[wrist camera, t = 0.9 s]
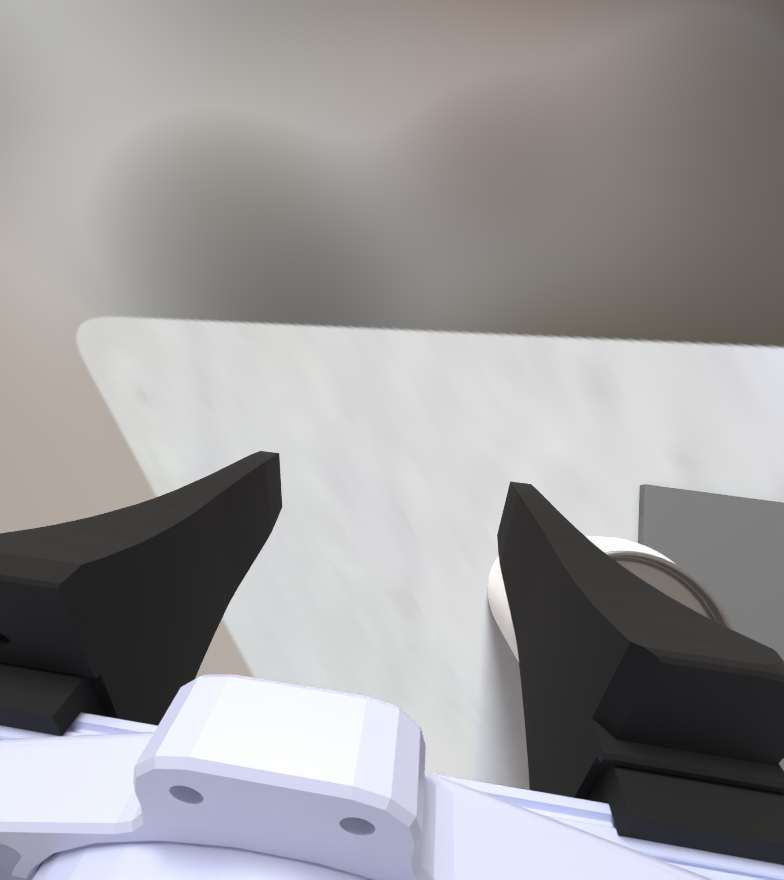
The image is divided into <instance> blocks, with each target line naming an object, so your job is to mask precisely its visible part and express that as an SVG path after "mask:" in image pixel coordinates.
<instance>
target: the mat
mask: <svg viewBox="0 0 784 880" xmlns="http://www.w3.org/2000/svg"><path fill="white" fill-rule="evenodd" d="M638 543H639V544H641V545H644V546H647V547H649V548H651V549H653V550H655V551H657V552H659V553H661V554H662V555H664V556H665V557H667V558H668V559H670V560H671V561H673V562H674V563H675V564H676V565H678V566H680V567H682V568H683V569H685V570H686V571H688V572H689V573H691V574H692V575H693V576H695V577H696V578H697V579H698V580H699V581H700V582H702V583H703V584H704V585H705V586H706V587H707V588H708V589H709V590H710V591H711V593H712V594H713V595H714V596H715V597H716V599H717V600H718V601H719V603H720V604H721V605H722V607H723V608H724V610H725V612H726V613H727V615H728V617H729V619H730V621H731V623H732V625H733V627H734V630H735V631H736V632H738V633H740V634H742V635H744V636H746V637H748V638H751V639H753V640H755V641H757V642H759V643H761V644H763V645H765V646H768V647H770V648H772V649H774V650H775V651H776V652H777V653H778V654H779V656H780V657H781V658H782V659H783V661H784V503H781V502H774V501H766V500H758V499H751V498H743V497H736V496H728V495H721V494H713V493H706V492H698V491H690V490H683V489H675V488H668V487H660V486H653V485H641V486H640V503H639V534H638ZM779 765H780V766H781V768H782V769H783V771H784V758H783V759H782V760H781V761H780V762H779Z"/></svg>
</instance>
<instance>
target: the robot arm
mask: <svg viewBox="0 0 784 880" xmlns="http://www.w3.org/2000/svg"><path fill="white" fill-rule="evenodd" d="M281 508H282V496H281V479H280V461H279V453H272V452H264V451H259V452H257V453H254V454H252V455H250V456H247V457H245V458H243V459H241V460H239V461H237V462H235V463H233V464H231V465H229V466H227V467H225V468H223V469H221V470H219V471H217V472H215V473H213V474H211V475H209V476H207V477H204V478H202V479H200V480H198V481H195V482H193V483H191V484H189V485H186V486H184V487H182V488H180V489H177V490H175V491H172V492H170V493H167V494H165V495H162V496H159V497H156V498H154V499H151V500H148V501H145V502H142V503H139V504H136V505H133V506H129V507H126V508H122V509H119V510H115V511H112V512H108V513H104V514H101V515H97V516H93V517H89V518H85V519H80V520H76V521H71V522H66V523H62V524H57V525H51V526H46V527H40V528H34V529H28V530H21V531H15V532H8V533H2V534H0V880H784V771H783V769H782V768H781V766H780V765H779V762H780V761H781V760H782V759H783V758H784V661H783V659H782V658H781V657H780V656H779V654H778V653H777V652H776V651H775V650H774V649H772V648H770V647H768V646H765V645H763V644H761V643H759V642H757V641H755V640H753V639H751V638H748V637H746V636H744V635H742V634H740V633H738V632H736V631H733V630H731V629H729V628H727V627H725V626H723V625H721V624H719V623H717V622H715V621H713V620H711V619H709V618H707V617H705V616H703V615H702V614H700V613H698V612H696V611H694V610H692V609H690V608H689V607H687V606H685V605H683V604H681V603H680V602H678V601H676V600H674V599H673V598H671V597H669V596H668V595H666V594H664V593H663V592H661V591H659V590H658V589H656V588H655V587H653V586H652V585H650V584H648V583H647V582H645V581H644V580H642V579H640V578H639V577H638V576H636V575H635V574H633V573H632V572H630V571H629V570H627V569H626V568H625V567H623V566H622V565H620V564H619V563H618V562H616V561H615V560H614V559H612V558H611V557H610V556H608V555H607V554H606V553H604V552H603V551H602V550H601V549H599V548H598V547H597V546H596V545H595V544H594V543H592V542H591V541H590V540H589V539H588V538H587V537H585V536H584V535H583V534H582V533H581V532H580V531H579V530H577V529H576V528H575V527H574V526H573V525H572V524H571V523H570V522H569V521H568V520H567V519H566V518H565V517H564V516H563V515H562V514H561V513H560V512H559V511H558V510H557V509H556V508H555V507H554V506H553V505H552V504H551V503H550V502H549V501H548V500H547V499H546V498H545V497H544V496H543V495H542V494H541V493H540V492H539V491H538V490H537V489H536V488H535V487H533V486H532V485H531V484H525V483H517V482H510V485H509V489H508V493H507V498H506V502H505V506H504V510H503V514H502V518H501V522H500V526H499V530H498V534H497V538H498V552H499V563H500V568H501V573H502V578H503V582H504V587H505V592H506V596H507V600H508V605H509V609H510V614H511V618H512V623H513V627H514V632H515V637H516V643H517V650H518V658H519V667H520V676H521V685H522V696H523V706H524V716H525V728H526V741H527V754H528V767H529V784H530V790H526V789H520V788H514V787H509V786H503V785H497V784H491V783H485V782H480V781H474V780H468V779H462V778H457V777H451V776H445V775H439V774H434V773H432V772H429V771H426V770H425V742H424V739H423V735H422V731H421V727H420V726H419V725H418V724H417V723H416V722H415V721H414V720H413V719H412V718H410V717H409V716H408V715H407V714H406V713H404V712H403V711H402V710H401V709H400V708H398V707H397V706H396V705H393V704H390V703H387V702H384V701H381V700H378V699H375V698H372V697H369V696H363V695H357V694H351V693H345V692H339V691H332V690H326V689H320V688H314V687H308V686H302V685H295V684H289V683H283V682H277V681H271V680H265V679H258V678H252V677H246V676H239V675H234V674H224V675H223V674H218V675H203V676H200V677H198V678H196V679H195V677H196V675H197V672H198V670H199V668H200V665H201V663H202V661H203V659H204V656H205V654H206V652H207V650H208V647H209V645H210V643H211V640H212V638H213V636H214V634H215V631H216V630H217V627H218V625H219V623H220V621H221V619H222V617H223V615H224V613H225V611H226V608H227V606H228V604H229V602H230V601H231V599H232V597H233V595H234V593H235V592H236V590H237V588H238V587H239V585H240V583H241V582H242V580H243V578H244V577H245V575H246V573H247V572H248V570H249V569H250V567H251V565H252V564H253V562H254V560H255V559H256V557H257V556H258V554H259V552H260V551H261V549H262V547H263V546H264V544H265V542H266V541H267V539H268V537H269V536H270V534H271V532H272V530H273V527H274V525H275V523H276V521H277V518H278V516H279V513H280V511H281Z"/></svg>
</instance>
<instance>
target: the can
mask: <svg viewBox="0 0 784 880" xmlns="http://www.w3.org/2000/svg"><path fill="white" fill-rule="evenodd" d="M585 537H587V538H588V539H589V540H590V541H591V542H592V543H594V544H595V545H596V546H597V547H598V548H599V549H601V550H602V551H603V552H604V553H606V554H607V555H608V556H610V557H611V558H612V559H614V560H615V561H616V562H618V563H619V564H620V565H622V566H623V567H625V568H626V569H627V570H629V571H630V572H632V573H633V574H635V575H636V576H638V577H639V578H640V579H642V580H644V581H645V582H647V583H648V584H650V585H652V586H653V587H655V588H656V589H658V590H659V591H661V592H663V593H664V594H666V595H668V596H669V597H671V598H673V599H674V600H676V601H678V602H680V603H681V604H683V605H685V606H687V607H689V608H690V609H692V610H694V611H696V612H698V613H700V614H702V615H703V616H705V617H707V618H709V619H711V620H713V621H715V622H717V623H719V624H721V625H723V626H725V627H727V628H729V629H731V630H733V631H735V630H734V627H733V625H732V623H731V621H730V619H729V617H728V615H727V613H726V612H725V610H724V608H723V607H722V605H721V604H720V603H719V601H718V600H717V599H716V597H715V596H714V595H713V594H712V593H711V591H710V590H709V589H708V588H707V587H706V586H705V585H704V584H703V583H702V582H700V581H699V580H698V579H697V578H696V577H695V576H693V575H692V574H691V573H689V572H688V571H686V570H685V569H683V568H682V567H680V566H678V565H676V564H675V563H674V562H673V561H671V560H670V559H668V558H667V557H665V556H664V555H662V554H661V553H659V552H657V551H655V550H653V549H651V548H649V547H647V546H644V545H641V544H639V543H636V542H632V541H629V540H625V539H620V538H613V537H602V536H585ZM488 600H489V605H490V608H491V611H492V614H493V616H494V618H495V621H496V623H497V624H498V626H499V628H500V630H501V632H502V634H503V636H504V637H505V639H506V641H507V643H508V645H509V646H510V648H511V650H512V652H513V653H514V655H515V657H516V659H517V660H518V662H519V658H518V650H517V643H516V637H515V632H514V627H513V623H512V618H511V614H510V609H509V605H508V600H507V596H506V592H505V587H504V582H503V578H502V573H501V568H500V563H499V556H498V558H497V559H496V561H495V562H494V564H493V566H492V569H491V572H490V575H489V580H488Z"/></svg>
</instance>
